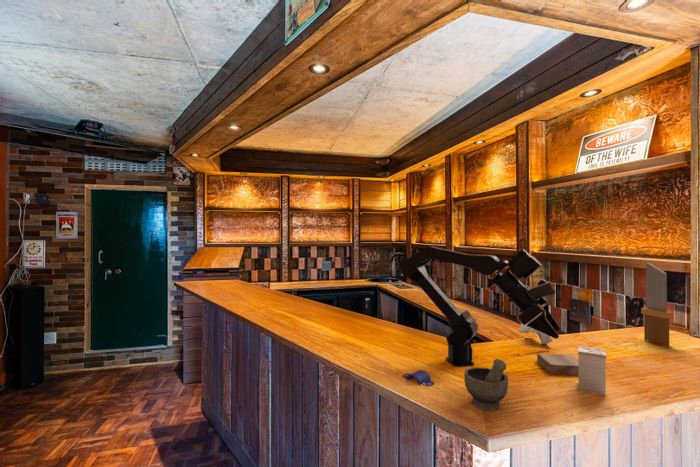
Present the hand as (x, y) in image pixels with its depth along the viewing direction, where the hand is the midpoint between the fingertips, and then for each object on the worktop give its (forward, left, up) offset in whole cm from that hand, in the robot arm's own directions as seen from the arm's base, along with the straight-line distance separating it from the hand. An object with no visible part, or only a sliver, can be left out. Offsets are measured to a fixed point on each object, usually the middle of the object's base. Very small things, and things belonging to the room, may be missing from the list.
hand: (558, 333), depth 94 cm
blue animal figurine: (-37, +9, -14) cm, 40 cm away
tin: (+5, -5, -13) cm, 15 cm away
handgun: (+23, +37, -13) cm, 46 cm away
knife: (+65, +24, -13) cm, 71 cm away
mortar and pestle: (-27, -8, -13) cm, 31 cm away
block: (+9, +9, -14) cm, 19 cm away
